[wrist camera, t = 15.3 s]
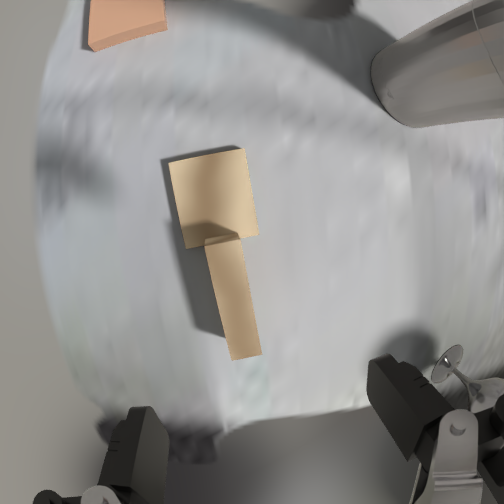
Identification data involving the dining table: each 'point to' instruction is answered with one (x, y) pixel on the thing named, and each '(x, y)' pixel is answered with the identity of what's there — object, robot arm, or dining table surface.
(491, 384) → the wine glass
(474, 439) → the robot arm
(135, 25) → the tile
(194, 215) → the turner
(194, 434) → the dining table surface
